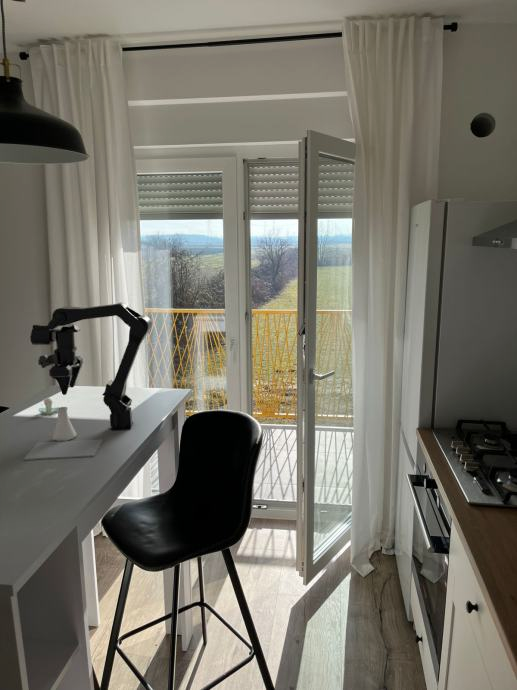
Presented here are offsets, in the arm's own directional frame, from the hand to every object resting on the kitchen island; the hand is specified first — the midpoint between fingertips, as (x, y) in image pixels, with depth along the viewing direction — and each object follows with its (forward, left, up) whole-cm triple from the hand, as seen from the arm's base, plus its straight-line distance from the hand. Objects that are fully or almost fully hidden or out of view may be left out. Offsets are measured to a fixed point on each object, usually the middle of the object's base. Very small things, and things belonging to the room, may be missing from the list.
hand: (68, 390), depth 178 cm
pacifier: (+13, -19, -14) cm, 27 cm away
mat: (-3, +20, -13) cm, 24 cm away
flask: (0, +9, -13) cm, 16 cm away
